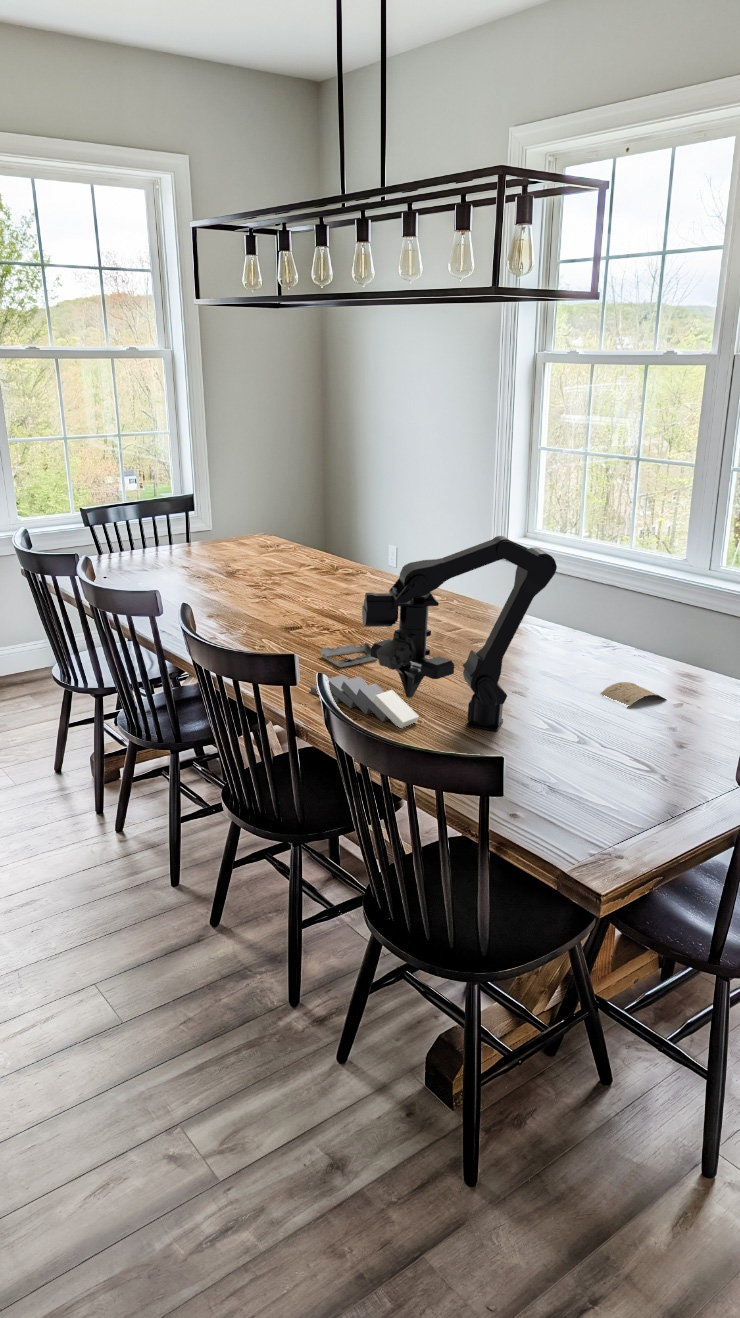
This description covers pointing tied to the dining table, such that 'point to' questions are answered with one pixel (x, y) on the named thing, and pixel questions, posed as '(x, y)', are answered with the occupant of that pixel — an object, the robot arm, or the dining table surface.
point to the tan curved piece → (626, 692)
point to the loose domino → (395, 709)
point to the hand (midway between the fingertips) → (409, 697)
